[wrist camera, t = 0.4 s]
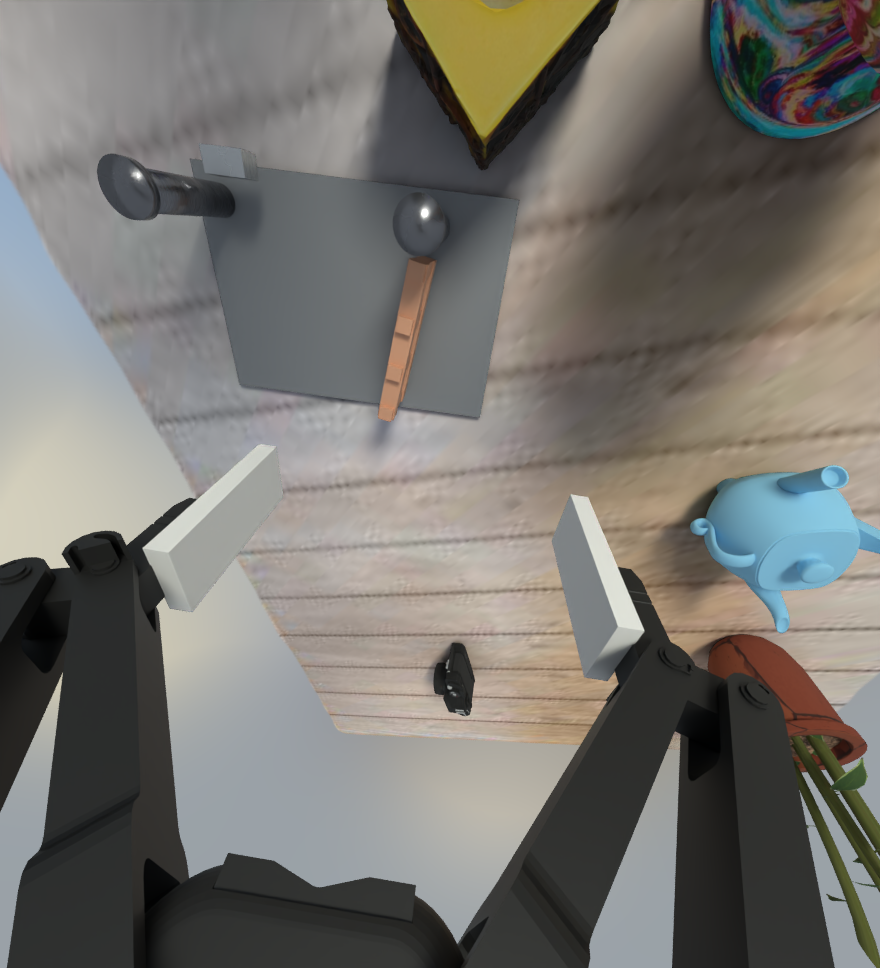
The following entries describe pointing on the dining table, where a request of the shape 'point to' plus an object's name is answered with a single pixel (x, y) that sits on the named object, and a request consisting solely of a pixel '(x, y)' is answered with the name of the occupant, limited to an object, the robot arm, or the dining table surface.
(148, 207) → the latch post
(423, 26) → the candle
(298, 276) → the mat
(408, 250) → the glossy grey waisted cylinder
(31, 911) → the robot arm
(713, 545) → the teapot
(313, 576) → the dining table surface
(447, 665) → the film camera
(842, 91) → the vase
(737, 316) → the dining table surface
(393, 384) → the gate
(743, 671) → the potted plant
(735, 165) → the dining table surface
